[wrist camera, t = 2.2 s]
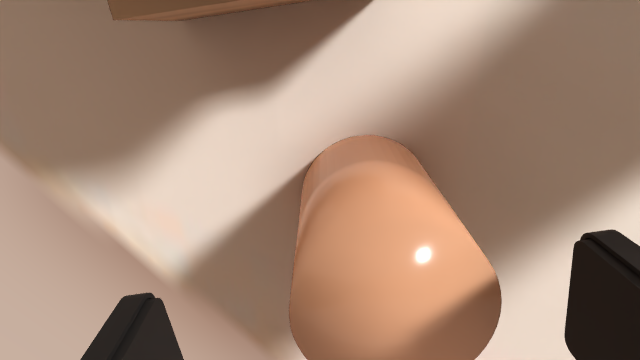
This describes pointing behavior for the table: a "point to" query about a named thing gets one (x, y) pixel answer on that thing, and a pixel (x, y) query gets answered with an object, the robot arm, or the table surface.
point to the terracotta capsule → (386, 262)
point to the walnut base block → (185, 8)
